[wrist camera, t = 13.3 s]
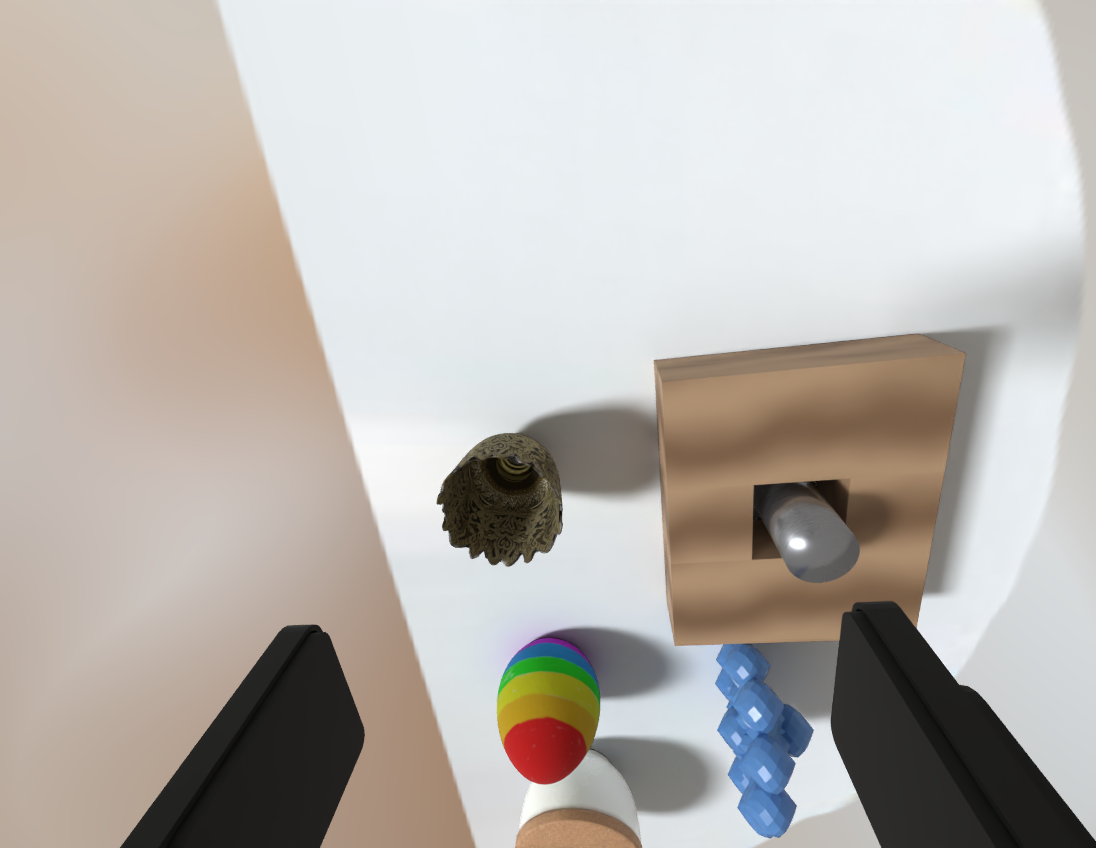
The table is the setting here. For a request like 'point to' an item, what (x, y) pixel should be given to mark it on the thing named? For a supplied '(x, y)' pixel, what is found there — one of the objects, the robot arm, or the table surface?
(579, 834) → the lidded jar
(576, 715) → the decorative egg
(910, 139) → the table surface
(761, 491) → the steel peg
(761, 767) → the grapes
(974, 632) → the table surface
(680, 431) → the walnut block
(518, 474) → the cup
